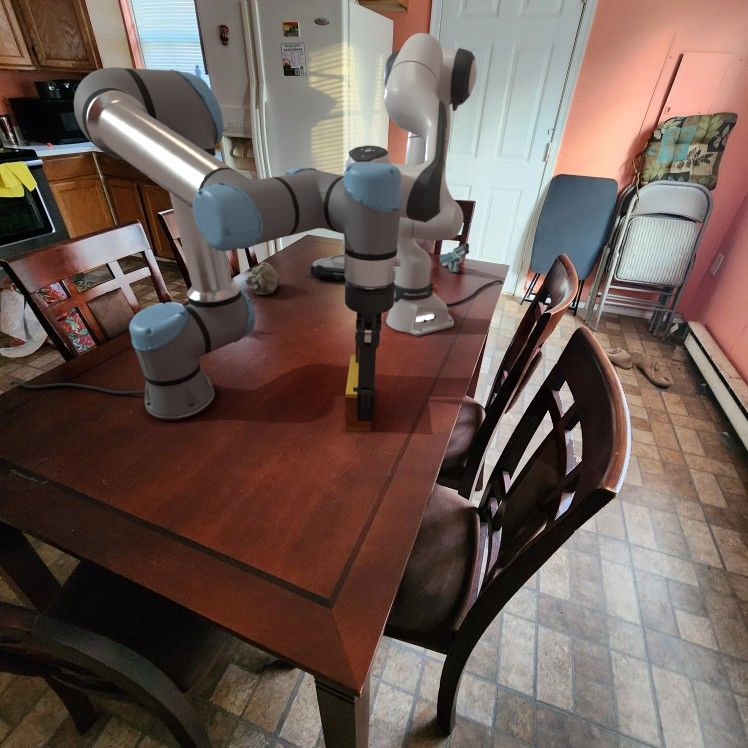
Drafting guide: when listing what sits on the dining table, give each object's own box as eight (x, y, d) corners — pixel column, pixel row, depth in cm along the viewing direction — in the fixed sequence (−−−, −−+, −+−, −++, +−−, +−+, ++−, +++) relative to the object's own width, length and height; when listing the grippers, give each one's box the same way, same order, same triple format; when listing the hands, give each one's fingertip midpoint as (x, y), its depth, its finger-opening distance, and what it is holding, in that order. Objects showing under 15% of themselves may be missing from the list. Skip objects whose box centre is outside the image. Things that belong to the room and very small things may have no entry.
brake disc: (371, 289, 156) (371, 277, 153) (298, 278, 162) (298, 266, 160) (392, 263, 182) (392, 252, 179) (328, 254, 188) (328, 243, 185)
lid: (351, 357, 100) (351, 324, 95) (374, 358, 100) (375, 325, 95) (345, 397, 87) (345, 361, 82) (372, 398, 87) (373, 363, 82)
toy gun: (467, 266, 164) (462, 241, 163) (442, 277, 182) (438, 255, 181) (474, 265, 165) (470, 240, 164) (449, 276, 183) (445, 254, 182)
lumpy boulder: (291, 289, 158) (274, 291, 144) (265, 297, 161) (246, 299, 146) (282, 260, 156) (264, 259, 141) (256, 268, 159) (236, 268, 144)
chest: (350, 390, 105) (350, 359, 100) (372, 391, 105) (374, 360, 100) (345, 430, 93) (345, 397, 87) (370, 431, 93) (372, 399, 87)
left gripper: (398, 320, 51) (388, 445, 63) (393, 253, 71) (387, 357, 83) (336, 318, 51) (339, 443, 63) (350, 252, 71) (350, 356, 83)
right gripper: (353, 225, 89) (352, 285, 97) (345, 258, 72) (345, 327, 80) (382, 227, 89) (379, 287, 97) (380, 259, 72) (377, 329, 80)
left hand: (366, 394), depth 73 cm, fingers open, 13 cm apart
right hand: (363, 305), depth 89 cm, fingers open, 8 cm apart
